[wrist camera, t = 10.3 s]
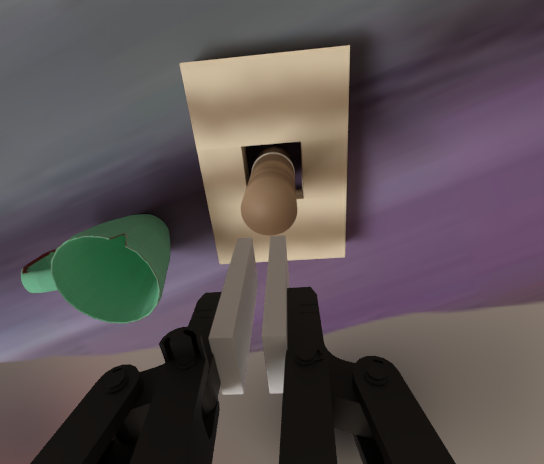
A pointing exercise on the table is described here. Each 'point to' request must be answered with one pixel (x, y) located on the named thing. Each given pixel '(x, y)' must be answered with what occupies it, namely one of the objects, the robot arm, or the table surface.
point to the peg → (270, 193)
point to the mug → (107, 269)
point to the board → (274, 141)
